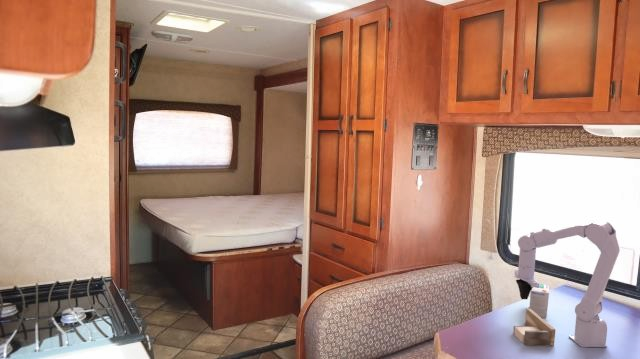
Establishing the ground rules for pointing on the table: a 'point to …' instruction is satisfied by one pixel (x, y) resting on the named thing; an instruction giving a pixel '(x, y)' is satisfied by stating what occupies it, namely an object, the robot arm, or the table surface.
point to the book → (523, 331)
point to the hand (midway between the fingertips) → (524, 298)
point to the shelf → (538, 337)
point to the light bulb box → (539, 300)
